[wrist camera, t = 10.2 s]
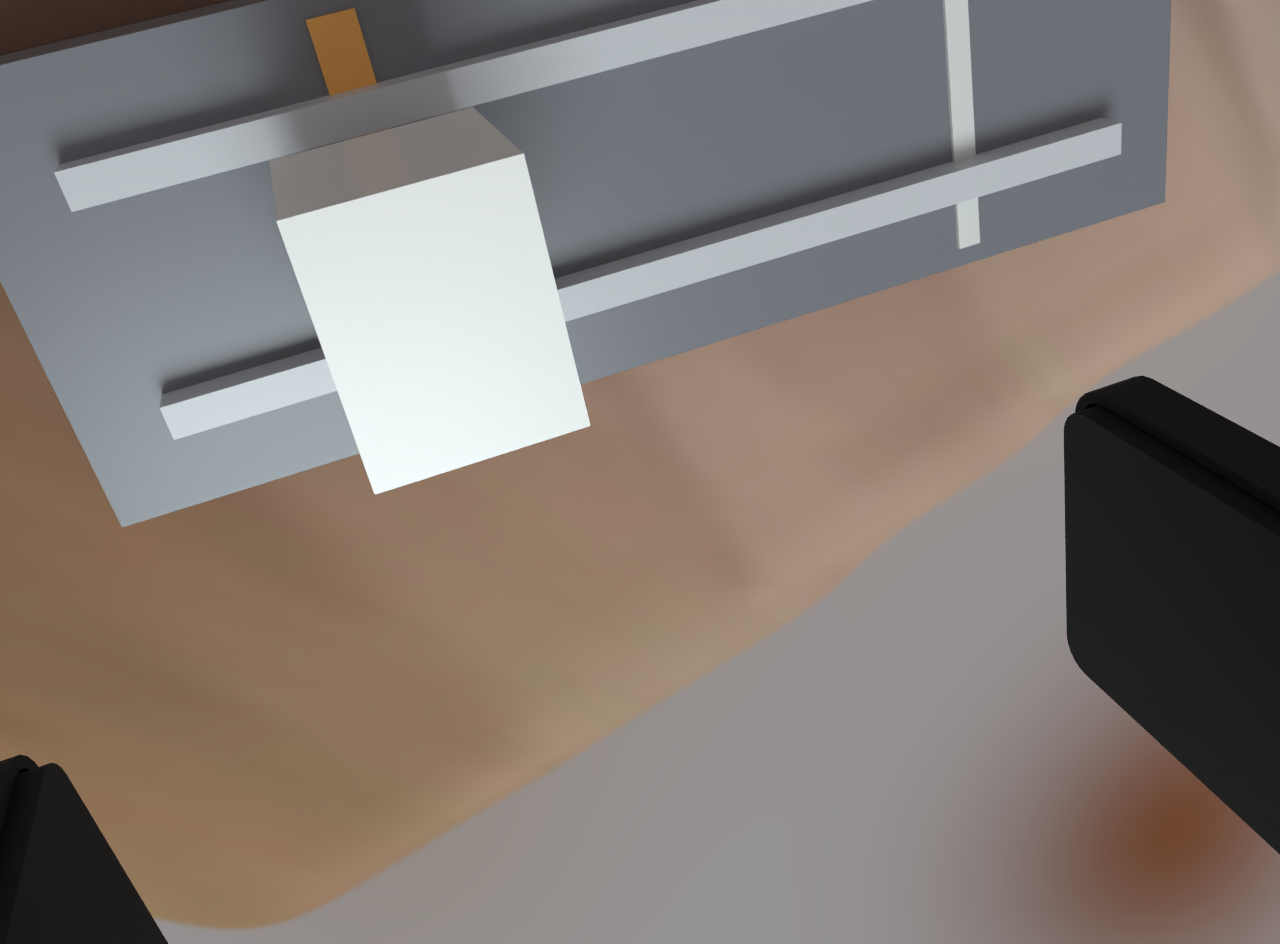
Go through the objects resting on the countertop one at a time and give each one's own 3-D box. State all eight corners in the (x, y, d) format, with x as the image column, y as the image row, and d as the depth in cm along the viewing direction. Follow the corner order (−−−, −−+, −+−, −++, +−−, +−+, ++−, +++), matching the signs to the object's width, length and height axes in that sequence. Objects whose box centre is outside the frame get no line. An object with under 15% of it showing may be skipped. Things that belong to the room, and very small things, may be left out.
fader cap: (454, 90, 24) (524, 153, 18) (512, 308, 27) (590, 426, 21) (267, 139, 24) (275, 221, 18) (343, 358, 26) (374, 494, 20)
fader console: (1107, -211, 29) (1202, -222, 26) (1106, 182, 34) (1185, 208, 31) (-66, 71, 24) (-106, 94, 21) (131, 480, 29) (118, 544, 26)
